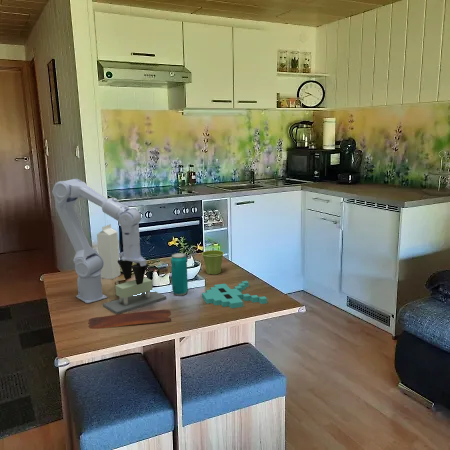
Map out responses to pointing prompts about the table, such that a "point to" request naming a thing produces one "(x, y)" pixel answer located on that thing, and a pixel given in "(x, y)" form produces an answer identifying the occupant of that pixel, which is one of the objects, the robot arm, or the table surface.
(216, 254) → the plant pot
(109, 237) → the milk
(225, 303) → the alien figure
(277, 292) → the table surface
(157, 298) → the peg rack
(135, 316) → the wooden tablet
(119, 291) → the pale green block
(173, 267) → the beverage can
